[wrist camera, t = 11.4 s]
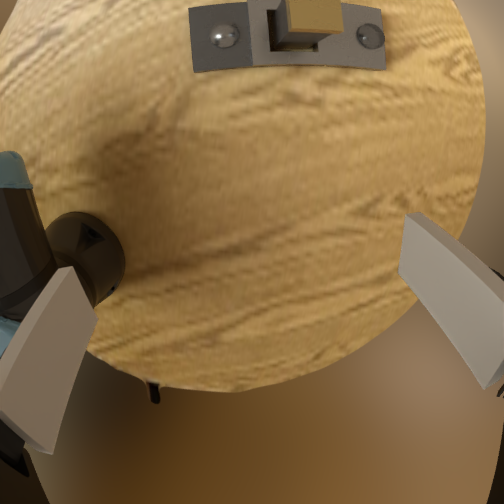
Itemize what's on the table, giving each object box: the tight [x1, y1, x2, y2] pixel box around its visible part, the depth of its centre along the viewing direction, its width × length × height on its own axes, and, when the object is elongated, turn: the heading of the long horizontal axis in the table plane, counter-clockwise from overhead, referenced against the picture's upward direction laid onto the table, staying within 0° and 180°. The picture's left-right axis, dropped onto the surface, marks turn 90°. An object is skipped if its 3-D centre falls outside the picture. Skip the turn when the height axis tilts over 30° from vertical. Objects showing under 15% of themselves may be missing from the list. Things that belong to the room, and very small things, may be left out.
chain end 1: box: [188, 2, 325, 73], centre depth 29 cm, size 16×9×2 cm, turn 94°
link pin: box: [271, 0, 344, 49], centre depth 24 cm, size 5×5×13 cm
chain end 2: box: [247, 0, 386, 71], centre depth 28 cm, size 17×9×3 cm, turn 94°
